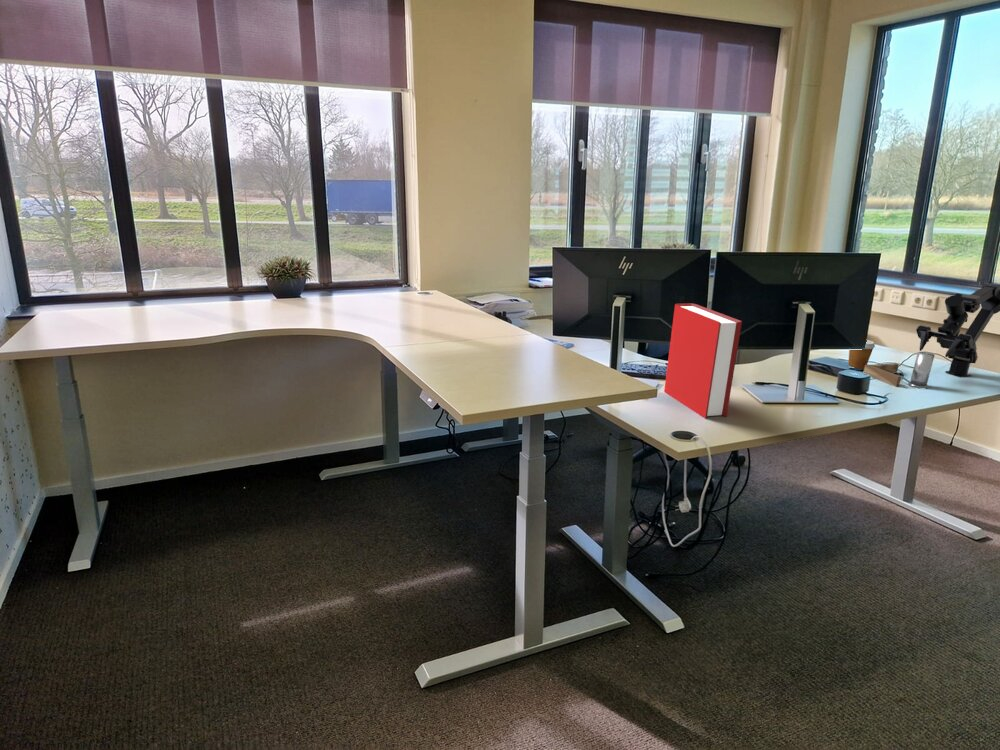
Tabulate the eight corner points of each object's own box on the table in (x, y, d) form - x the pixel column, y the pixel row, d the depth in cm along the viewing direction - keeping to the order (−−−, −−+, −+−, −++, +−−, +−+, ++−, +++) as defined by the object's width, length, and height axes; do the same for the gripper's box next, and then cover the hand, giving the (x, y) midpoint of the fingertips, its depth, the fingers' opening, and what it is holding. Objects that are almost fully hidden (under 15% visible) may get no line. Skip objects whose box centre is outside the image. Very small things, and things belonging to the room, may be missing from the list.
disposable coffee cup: (853, 372, 258) (859, 344, 254) (838, 365, 267) (844, 338, 263) (874, 372, 259) (881, 344, 255) (859, 365, 268) (865, 338, 264)
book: (726, 417, 204) (741, 321, 194) (705, 418, 202) (719, 321, 192) (681, 389, 229) (693, 303, 219) (662, 390, 227) (673, 303, 217)
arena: (892, 372, 260) (894, 363, 259) (926, 384, 245) (929, 375, 244) (863, 373, 256) (865, 364, 255) (895, 386, 242) (898, 376, 240)
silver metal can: (913, 382, 248) (921, 350, 244) (930, 387, 243) (939, 355, 239) (904, 384, 244) (912, 352, 240) (922, 389, 239) (930, 357, 235)
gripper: (983, 341, 242) (962, 372, 240) (931, 330, 257) (911, 359, 254) (980, 323, 235) (958, 354, 233) (926, 313, 250) (905, 342, 248)
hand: (932, 353), depth 242 cm, fingers open, 9 cm apart
